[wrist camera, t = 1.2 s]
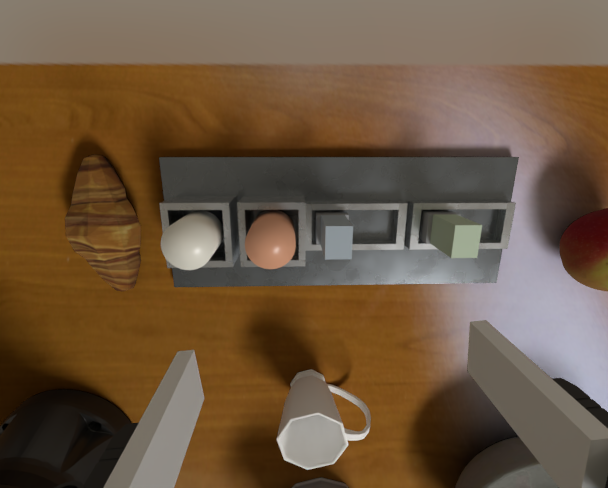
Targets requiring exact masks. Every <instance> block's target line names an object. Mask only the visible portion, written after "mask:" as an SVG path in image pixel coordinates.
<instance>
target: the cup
mask: <svg viewBox="0 0 608 488" xmlns="http://www.w3.org/2000/svg"><path fill="white" fill-rule="evenodd" d="M290 386H291V389H290V390H289V393H288V396H287V398H286V401H285V404H284V408H283V413H282V418H281V422H280V426H279V430H278V434H277V442H278V445H279V447H280V450H281V453H282V456H283V459H284V460H285V461H288V462H290V463H292V464H295V465H297V466H300V467H302V468H304V469H307V470H309V469H314V468H318V467H322V466H327V465H331V464H334V463H335V462H336V461H337V459H338V458H339V457H340V455H341V454H342V453H343V451H344V450H345V449H346V448H347V446H348V441H347V440H349V441H350V440H361V439H364V438H365V436H366V435H367V434H368V433H369V429H370V420H371V417H370V412H369V409H368V408H367V406H366V404H365V403H364V402H363V401H361V400H360V399H359V398H358V397H356V396H354V395H353V394H351V393H349V392H347V391H346V390H344V389H342V388H339V387H337V386H334V385H332V384H326V382H325V378H324V375H322V374H320V373H318V372H316V371H314V370H312V369H310V370H306V371H302V372H298V373H297V374H296V376H295V377H294V379H293V380H292V381H291V383H290ZM331 392H333V393H336V394H338V395H340V396H342V397H344V398H346V399H347V400H349V401H351V402H352V403H354V404H355V405H357V406H358V407H359V408H361V409H362V411H363V413H364V414H365V416H366V422H367V424H366V427H365V428H364V429H363V431H359V432H357V431H353V430H348V429H345V428H344V427H343V423H342V421H341V418H340V415H339V412H338V410H337V407H336V405H335V402H334V399H333V396H332V393H331Z"/></svg>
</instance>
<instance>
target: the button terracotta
mask: <svg viewBox="0 0 608 488" xmlns="http://www.w3.org/2000/svg"><path fill="white" fill-rule="evenodd" d="M295 248H296V241H295V227H294V223H293V221H292V220H291V218H290V217H289V216H288V215H287V214H285V213H284V212H281V211H278V210H268V211H264V212H262V213H261V214H259V215H258V216H257V217H256V218H255V220H254V222H253V224H252V226H251V228H250V230H249V232H248V234H247V236H246V239H245V250H246V253H247V255H248V257H249V259H250V260H251V261H252V262H253V263H254V264H255V265H257V266H259V267H261V268H264V269H277V268H280V267H282V266H284V265H286V264H287V263H288V262H289V261H290V260H291V259H292V257H293V255H294V252H295Z"/></svg>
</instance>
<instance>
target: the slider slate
mask: <svg viewBox="0 0 608 488" xmlns="http://www.w3.org/2000/svg"><path fill="white" fill-rule="evenodd" d="M315 241H316V244H321V248H322V251H323V254H324V258H325V260H331V259H352V241H353V225H352V224H351V223H350V221H349V214H348V213H347V212H346V211H316V212H315Z"/></svg>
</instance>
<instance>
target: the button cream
mask: <svg viewBox="0 0 608 488" xmlns="http://www.w3.org/2000/svg"><path fill="white" fill-rule="evenodd" d="M223 237H224V229H223V226H222V223H221V222H220V220H219V219H218V218H217V217H216V216H215V215H214V214H212V213H210V212H208V211H203V210H197V211H193V212H190V213H189V214H187V215H185V216H184V217H182V218H181V219H179V220H178V221H176V222H175V223H173V224H172V225H170V226H169V227H168V228H167V229H166V230H165V231H164V233H163V235H162V238H161V249H162V252H163V254H164V256H165V258H166V259H167V260H168V261H169V262H170V263H171V264H172V265H173V266H175V267H177V268H179V269H183V270H195V269H198V268H200V267H202V266H204V265H205V264H206V263H207V262H208V261H209V260H210V258H211V257H212V255H213V254H214V253H215V251H216V250H217V248H218V247H219V246H220V244H221V243H222V241H223Z"/></svg>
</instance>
